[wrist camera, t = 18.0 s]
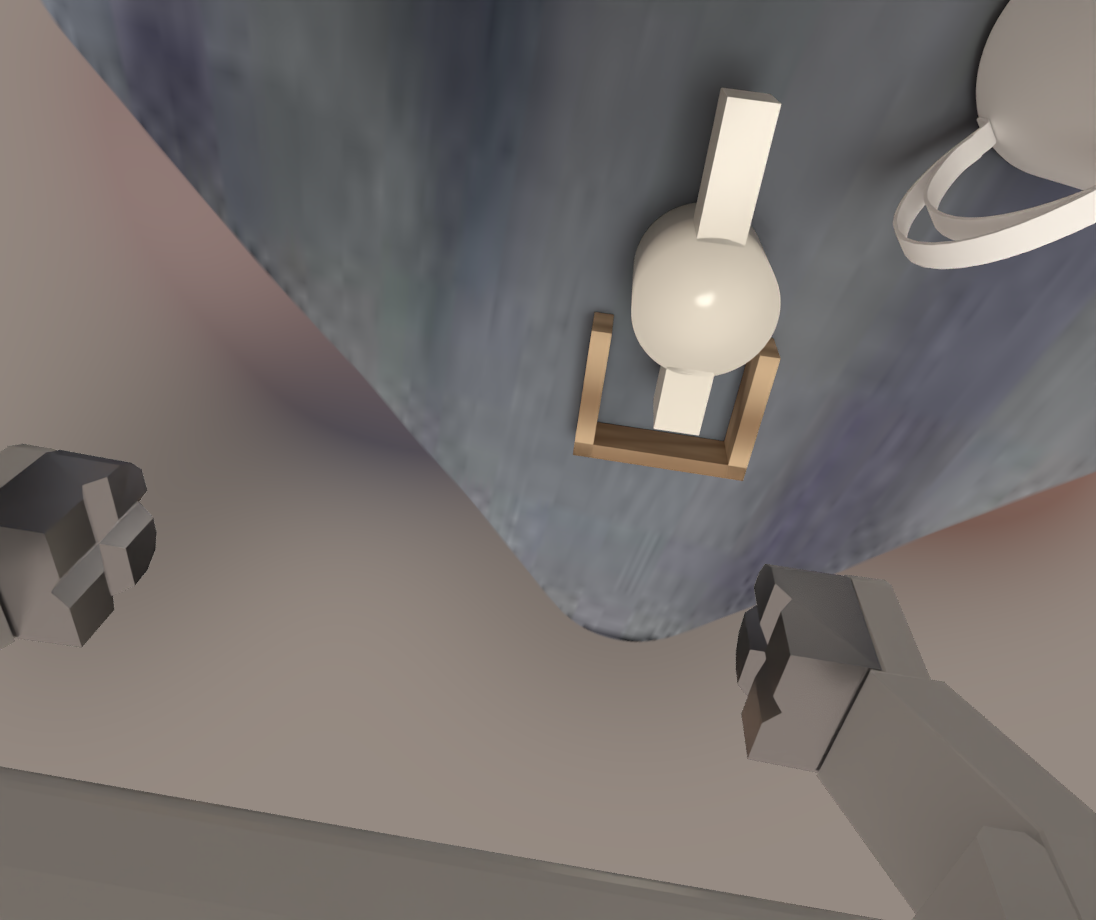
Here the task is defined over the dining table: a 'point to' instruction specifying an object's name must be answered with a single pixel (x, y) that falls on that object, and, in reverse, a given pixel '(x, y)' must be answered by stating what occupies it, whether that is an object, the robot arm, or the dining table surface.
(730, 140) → the white bar with bulge
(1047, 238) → the coffeepot
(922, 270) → the dining table surface
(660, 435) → the cradle
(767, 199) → the dining table surface
